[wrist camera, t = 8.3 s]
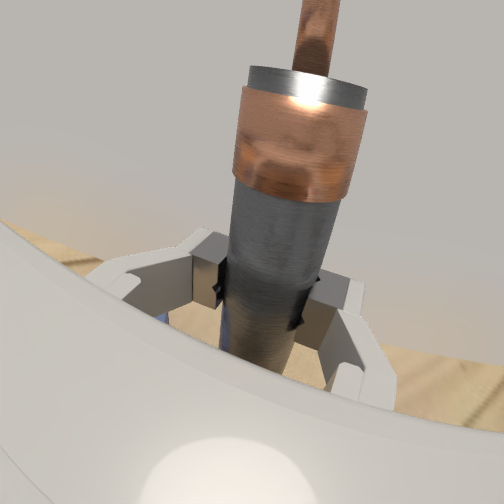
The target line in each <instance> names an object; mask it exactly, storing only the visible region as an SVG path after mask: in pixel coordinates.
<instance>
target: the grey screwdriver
mask: <svg viewBox="0 0 504 504" xmlns="http://www.w3.org/2000/svg"><path fill="white" fill-rule="evenodd" d="M339 6H340V0H303V2H302V9H301V15H300V21H299V28H298V34H297V40H296V46H295V53H294V59H293V66H292V70H286V69H278V68H271V67H263V66H250V70H249V78H248V85H247V86H243V88H242V95H241V103H240V110H239V118H238V126H237V134H236V144H235V152H234V160H233V169H232V172H233V174H234V176H235V177H236V179H235V189H234V196H233V205H232V215H231V224H230V233H229V243H228V252H227V262H226V272H225V283H224V293H223V304H222V315H221V327H220V338H219V349H220V350H222V351H225V352H227V353H229V354H231V355H234V356H236V357H238V358H241V359H243V360H246V361H248V362H250V363H253V364H255V365H258V366H260V367H262V368H265V369H267V370H270V371H272V372H275V373H278V374H280V375H282V373H283V371H284V368H285V366H286V363H287V361H288V358H289V356H290V353H291V350H292V348H293V345H294V341H293V339H294V336H295V333H296V330H297V327H298V324H299V322H300V320H301V317H302V313H303V310H304V307H305V304H306V301H307V299H308V296H309V293H310V291H311V288H312V286H313V284H314V283H315V282H316V280H317V277H318V274H319V271H320V268H321V265H322V262H323V258H324V255H325V252H326V249H327V246H328V242H329V239H330V235H331V233H332V229H333V226H334V222H335V219H336V216H337V212H338V209H339V205H340V202H341V199H343V198H344V197H345V196H346V195H347V192H348V188H349V185H350V181H351V178H352V173H353V170H354V166H355V163H356V159H357V154H358V150H359V147H360V142H361V139H362V134H363V130H364V126H365V122H366V117H367V113H368V111H367V110H364V105H365V100H366V95H367V90H368V89H366V88H364V87H361V86H357V85H354V84H351V83H347V82H343V81H340V80H336V79H332V78H328V73H329V67H330V62H331V55H332V50H333V44H334V38H335V32H336V25H337V18H338V13H339Z"/></svg>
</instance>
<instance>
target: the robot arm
mask: <svg viewBox="0 0 504 504" xmlns="http://www.w3.org/2000/svg"><path fill="white" fill-rule="evenodd" d="M228 243H229V236H226V235H224V234H221V233H218V232H215V231H213V230H210V229H206V228H204V227H200V228H199V229H197V230H196V231H195V232H194V233H192V234H191V235H190V236H189V237H188V238H186V239H185V240H184V241H182V242H181V243H180V244H179V245H177V246H176V247H175V248H172V247H166V248H162V249H157V250H152V251H147V252H142V253H138V254H133V255H128V256H124V257H119V258H114V259H110V260H106V261H105V262H104V263H102V264H101V265H100V266H98V267H97V268H96V269H94V270H93V271H92V272H90V273H89V274H88V275H86V276H85V277H84V278H83V277H82V276H80V275H79V274H77V273H75V272H74V271H72V270H71V269H69V268H67V267H66V266H64V265H63V264H61V263H60V262H58V261H57V260H55V259H54V258H52V257H51V256H49V255H48V254H46V253H45V252H43V251H42V250H40V249H39V248H37V247H36V246H35V245H33V244H32V243H30V242H29V241H27V240H26V239H25V238H23V237H22V236H21V235H19V234H18V233H16V232H15V231H14V230H12V229H11V228H10V227H8V226H7V225H6V224H4V223H3V222H2V221H0V504H504V433H501V432H494V431H487V430H480V429H474V428H468V427H462V426H456V425H451V424H446V423H441V422H436V421H432V420H427V419H423V418H418V417H414V416H410V415H406V414H402V413H398V412H394V404H395V396H396V388H397V376H396V374H395V372H394V370H393V368H392V366H391V365H390V363H389V361H388V359H387V357H386V355H385V354H384V352H383V350H382V348H381V346H380V344H379V343H378V341H377V339H376V337H375V335H374V334H373V332H372V330H371V328H370V327H369V325H368V323H367V321H366V320H365V318H363V317H360V316H361V310H362V304H363V298H364V292H365V283H364V282H361V281H357V280H354V279H351V278H347V277H344V276H341V275H338V274H335V273H331V272H329V271H326V270H323V269H320V271H319V274H318V277H317V280H316V282H315V283H314V284H313V286H312V288H311V291H310V293H309V296H308V299H307V301H306V304H305V307H304V310H303V313H302V317H301V320H300V322H299V324H298V327H297V330H296V333H295V336H294V339H293V341H294V342H296V343H299V344H301V345H304V346H306V347H309V348H312V349H314V350H317V351H318V356H319V359H320V363H321V366H322V370H323V374H324V378H325V381H326V386H325V388H324V389H323V390H321V389H318V388H315V387H313V386H310V385H307V384H304V383H301V382H299V381H296V380H293V379H291V378H288V377H285V376H283V375H280V374H278V373H275V372H272V371H270V370H267V369H265V368H262V367H260V366H258V365H255V364H253V363H250V362H248V361H246V360H243V359H241V358H238V357H236V356H234V355H231V354H229V353H227V352H225V351H222V350H220V349H218V348H216V347H213V346H211V345H209V344H207V343H205V342H203V341H200V340H198V339H196V338H194V337H192V336H190V335H188V334H186V333H184V332H182V331H180V330H178V329H176V328H174V327H172V326H170V325H168V324H166V323H164V322H162V321H160V320H158V319H156V318H154V317H157V316H159V315H162V314H164V313H166V312H169V311H171V310H174V309H176V308H178V307H181V306H183V305H186V304H188V303H190V302H192V301H194V302H197V303H199V304H202V305H204V306H207V307H209V308H212V309H214V310H215V309H216V308H217V307H218V305H219V304H220V303H221V302H222V300H223V293H224V283H225V272H226V262H227V252H228Z"/></svg>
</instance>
